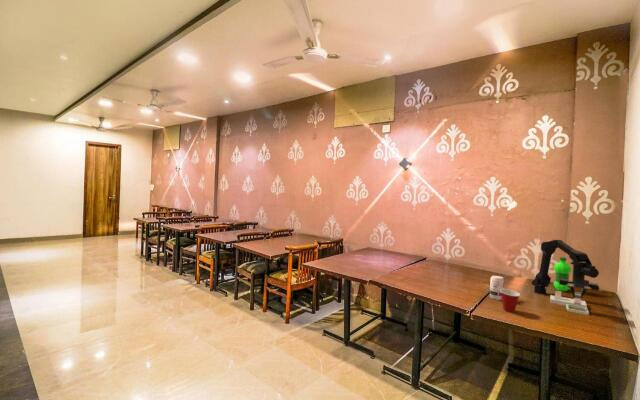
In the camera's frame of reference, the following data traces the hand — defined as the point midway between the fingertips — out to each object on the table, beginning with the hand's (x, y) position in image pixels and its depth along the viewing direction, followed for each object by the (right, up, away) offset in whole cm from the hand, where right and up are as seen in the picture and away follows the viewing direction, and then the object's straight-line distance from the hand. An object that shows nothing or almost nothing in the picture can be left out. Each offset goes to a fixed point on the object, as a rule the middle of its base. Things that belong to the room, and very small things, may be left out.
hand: (577, 297), depth 189 cm
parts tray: (0, -9, 0) cm, 9 cm away
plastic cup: (-42, -8, 0) cm, 43 cm away
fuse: (-1, -7, +14) cm, 16 cm away
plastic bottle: (+23, -8, +42) cm, 48 cm away
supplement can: (-38, -8, +22) cm, 44 cm away
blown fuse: (0, -4, 0) cm, 4 cm away
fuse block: (+3, -9, +11) cm, 14 cm away
